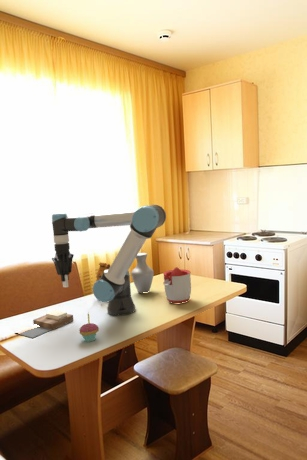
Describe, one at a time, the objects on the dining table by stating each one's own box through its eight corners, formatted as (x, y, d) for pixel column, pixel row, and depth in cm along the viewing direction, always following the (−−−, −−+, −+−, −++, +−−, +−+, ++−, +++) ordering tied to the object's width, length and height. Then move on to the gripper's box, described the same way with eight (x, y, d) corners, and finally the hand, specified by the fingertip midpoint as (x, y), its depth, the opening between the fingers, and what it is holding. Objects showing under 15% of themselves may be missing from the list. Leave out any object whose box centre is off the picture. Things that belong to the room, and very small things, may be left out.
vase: (129, 292, 233) (126, 254, 231) (149, 288, 239) (146, 251, 237) (137, 297, 220) (134, 257, 218) (158, 293, 226) (156, 253, 224)
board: (73, 320, 187) (72, 314, 186) (51, 330, 175) (51, 324, 175) (55, 316, 195) (55, 311, 194) (33, 325, 183) (33, 319, 183)
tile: (67, 316, 185) (66, 312, 185) (58, 319, 180) (57, 316, 180) (55, 313, 190) (55, 310, 190) (46, 317, 186) (46, 313, 185)
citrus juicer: (157, 303, 206) (154, 268, 204) (178, 295, 217) (176, 263, 215) (176, 308, 194) (174, 272, 192) (198, 300, 205) (196, 266, 203)
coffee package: (106, 301, 215) (102, 265, 213) (96, 297, 225) (93, 263, 223) (120, 298, 221) (117, 262, 219) (110, 294, 231) (107, 260, 229)
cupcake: (81, 336, 164) (79, 311, 163) (100, 334, 165) (98, 309, 164) (79, 344, 156) (76, 317, 155) (99, 342, 156) (96, 315, 155)
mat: (51, 330, 175) (51, 329, 175) (32, 338, 166) (32, 337, 166) (33, 325, 183) (33, 324, 183) (14, 333, 174) (14, 332, 174)
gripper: (66, 240, 195) (70, 283, 198) (46, 244, 185) (51, 289, 187) (76, 241, 191) (79, 284, 194) (56, 245, 181) (60, 291, 183)
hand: (65, 286), depth 191 cm, fingers closed
